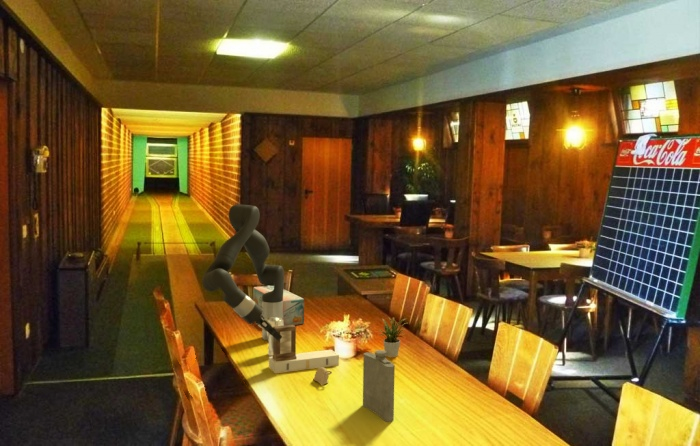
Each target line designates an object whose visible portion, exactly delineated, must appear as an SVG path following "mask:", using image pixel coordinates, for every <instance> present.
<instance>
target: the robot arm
mask: <svg viewBox="0 0 700 446" xmlns="http://www.w3.org/2000/svg"><path fill="white" fill-rule="evenodd" d="M260 215H261V214H260V210H259V208H258V207H257V206H256V205H251V204H238V203H237V204H234V205H231V207H230V208H229V211H228V220H229V224H230V226H231V227H232V228H233V230H234V231H235V234H233V235H232V236H231V237H230V238H228V239H227V240H226V241H225V242H224V243H223V244H222V245H221V246H220V248H219V250H218V252H217V254H216V256H215V258H214V260H213V262H212V263H211V264H210V265H209V267H208V268H207V270H206V271H205V272H204V275H203V277H202V287H203V289H205V290H206V291H207V292H216V291H219V290H221V291H222V300H223V301H224V302H225V303H226V304H227V305H228V306H229V307H231V308H232V309H233V311H234V312H235V314H237V315H238V316H239V317H240V318H241V319H242V320H244V321H245V322H246V323H247V324H249V325H252V324H254V323H255V324H256V326H258V327H259V328H261V334H262V335H261V338H262V340H264V341H268V337H267V332H269V333H270V335H272V336H273V337H274V338H276V339H277V340H278V341H279V340H280V339H281V338H282V336H281V335H280V334H279V333H278V332H277V331H276V329H275V328H273V327H272V325H271V324H270V323H269V322H268V321H267V319H268V318H271V317H281V318H283V289H284V286H285V285H284V282H285V269H284V267H283V266H282V265H279V264H278V265H277V264H266V263H265V262H266V260H267V259H268V258H269V255H270V250H271V249H270V247H269V244H268V241H267V240H266V238H265V237H264V235H262V233H260V232H259V231H258V230H256V228H257V226H258V224H259V222H260ZM243 246H244V248H245V250H246V253H247V255H248V257H249V258H250V260H251V262H252V264H253V268H254V269H255V272H256V273H255V274H256V276H257V279H258V281H259V283H260V284H261V285H262V286H274V290H273V291H271V292H268V293H265V294H263V295H262V308H261V307H260V306H259V305H258V304H257V303H256V302H254V301H253V299H252V298H251V296H249V295H247V294H246V293H245V292H244V291H243V290H242V289H240V287H238V285H237V284H236V282H235V281H234V279H233V277H232V276H231V274H230V273H229V271H230V270H232V268H233V266H234V264H235V262H236V260H237V258H238V255H239V253H240V252H241V250H242V248H243ZM261 314H262V315H261Z"/></svg>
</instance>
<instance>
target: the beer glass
mask: <svg viewBox="0 0 700 446" xmlns="http://www.w3.org/2000/svg"><path fill="white" fill-rule="evenodd" d="M267 321H268V322H269V323H270V324H271V325H272V327H274V326H284V322H283V318H281V317H271V318H268V319H267ZM267 337H268V351H267V356H269V357H272V356H273V336H272V335H270V333H269V332H267Z"/></svg>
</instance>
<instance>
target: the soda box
mask: <svg viewBox="0 0 700 446" xmlns="http://www.w3.org/2000/svg"><path fill="white" fill-rule="evenodd" d="M273 290H274V286H268V285H262V286H254V287H253V288H252V292H253V295H252V296H253V299H252V300H253V301H254V302H256V303H257V304H258V305H259V306H260V307H261V308H262V295H263V294H265V293H268V292H271V291H273ZM261 316H262V314H261ZM283 322H284V325H294V326H296V325H297V326H298V325H305V299H304V298H303V297H301V296H299V295H297V294H295V293H293V292H290V291H288V290H286V289H285V288H283Z"/></svg>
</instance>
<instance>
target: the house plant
mask: <svg viewBox="0 0 700 446" xmlns="http://www.w3.org/2000/svg"><path fill="white" fill-rule="evenodd" d="M387 318H388V319H389V321H390V325H391V326H390V325H389V324H388V322H387V321H386V320H385V319H384V318H381V319H382V321H383V323H384V326H383V328H384V329H383V330H380V329H378V331H379V332H381V333H379V334H378V336H382V337H384V339H383V341H382V343H383V348H384V351H386V355H385V356H386V357H387V358H388V357H389V358H396V357H398V355H399V350H400V346H401V339H399V338H404V336H406V333H403V331H404V330H405V328H403V329H402V327H403V326H404V325H406V324H407V322H404V321H405V320H407V319H408V318H407V317H406V318H403V319H401V320H400V321H397V322H396V320H395V317H394V316H392V319H391V317H388V316H387ZM403 322H404V323H403ZM401 324H402V325H401ZM400 325H401V326H400Z"/></svg>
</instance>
